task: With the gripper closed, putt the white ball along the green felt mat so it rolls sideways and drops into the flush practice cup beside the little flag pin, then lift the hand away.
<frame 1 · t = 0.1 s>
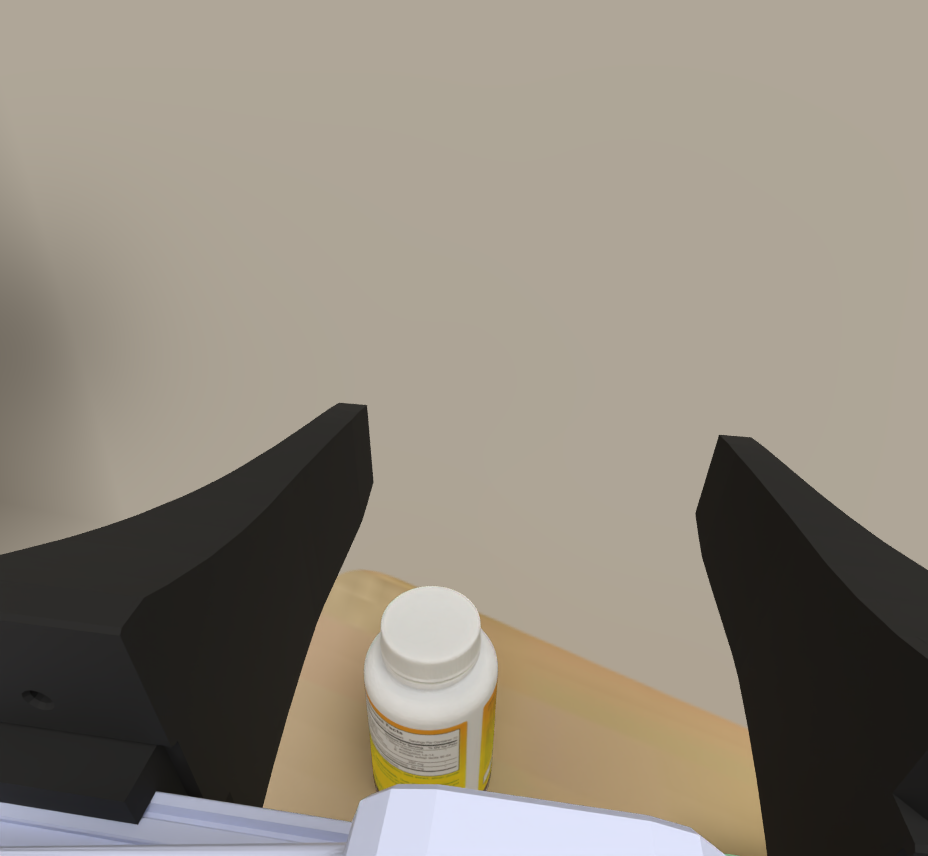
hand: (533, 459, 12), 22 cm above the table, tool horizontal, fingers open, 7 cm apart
supplement bottle: (432, 776, 28), on the table
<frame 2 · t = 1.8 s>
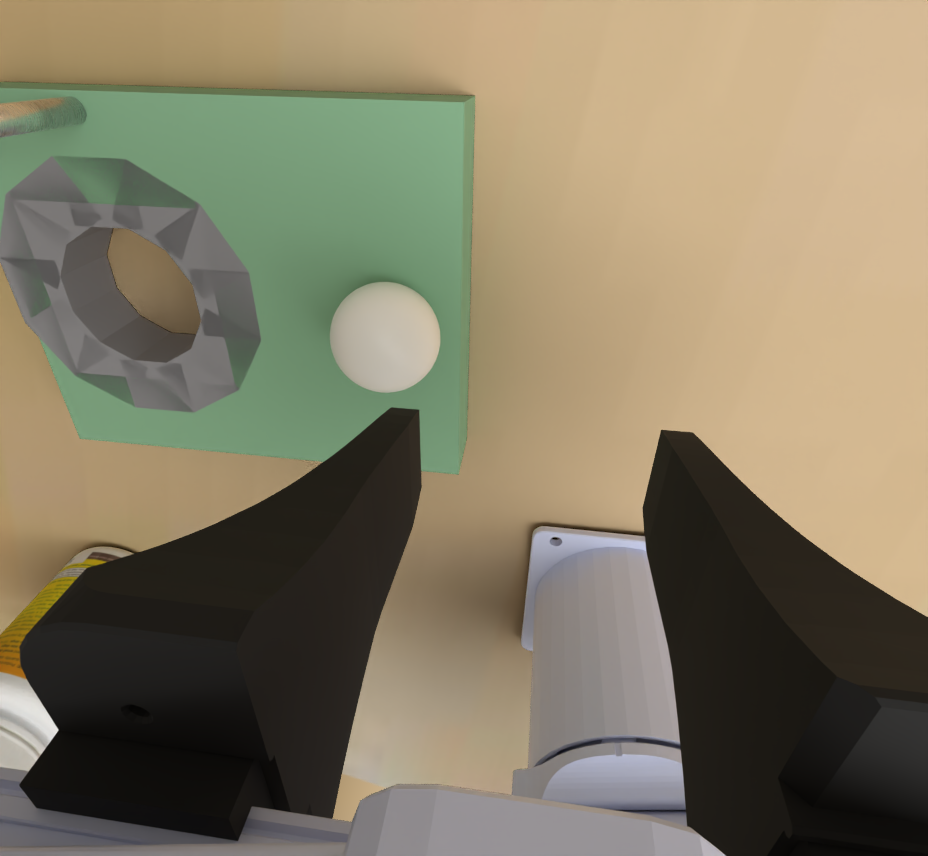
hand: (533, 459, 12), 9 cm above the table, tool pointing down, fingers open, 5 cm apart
flag pin: (74, 110, 17), resting on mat
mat: (262, 281, 21), on the table
supplement bottle: (130, 576, 32), on the table
ball: (385, 337, 17), point 4 cm above the table, touching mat
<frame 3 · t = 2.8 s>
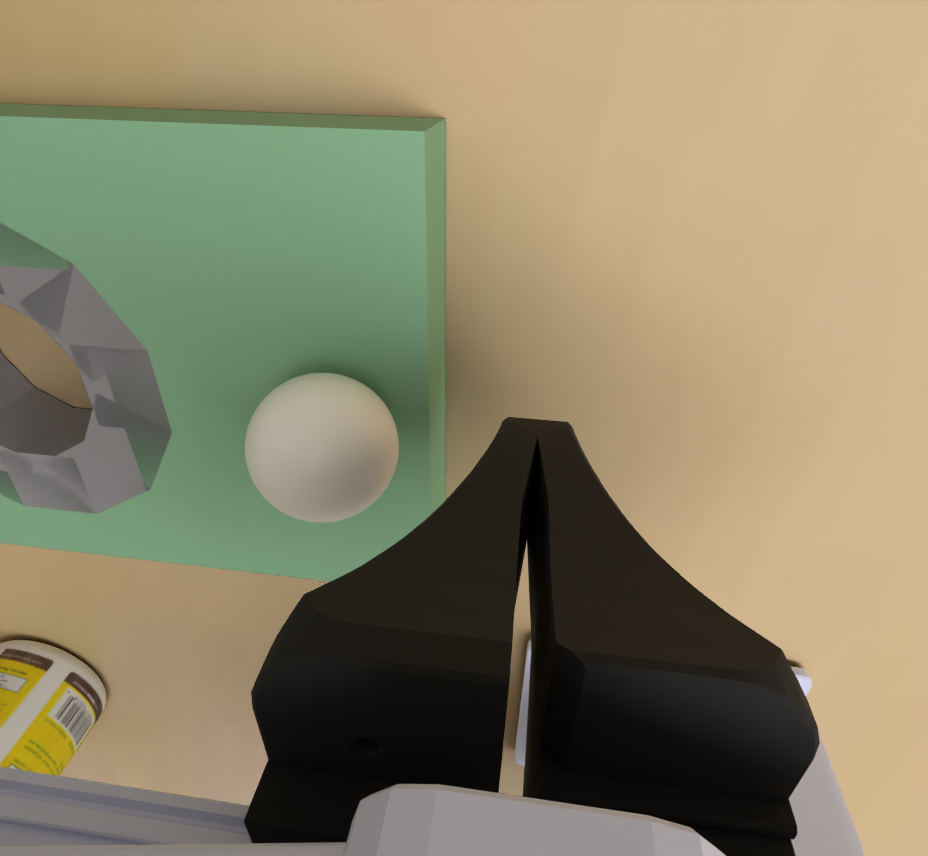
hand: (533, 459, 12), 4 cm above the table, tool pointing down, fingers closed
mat: (181, 349, 17), on the table
supplement bottle: (57, 669, 27), on the table
ball: (324, 447, 13), point 4 cm above the table, touching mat
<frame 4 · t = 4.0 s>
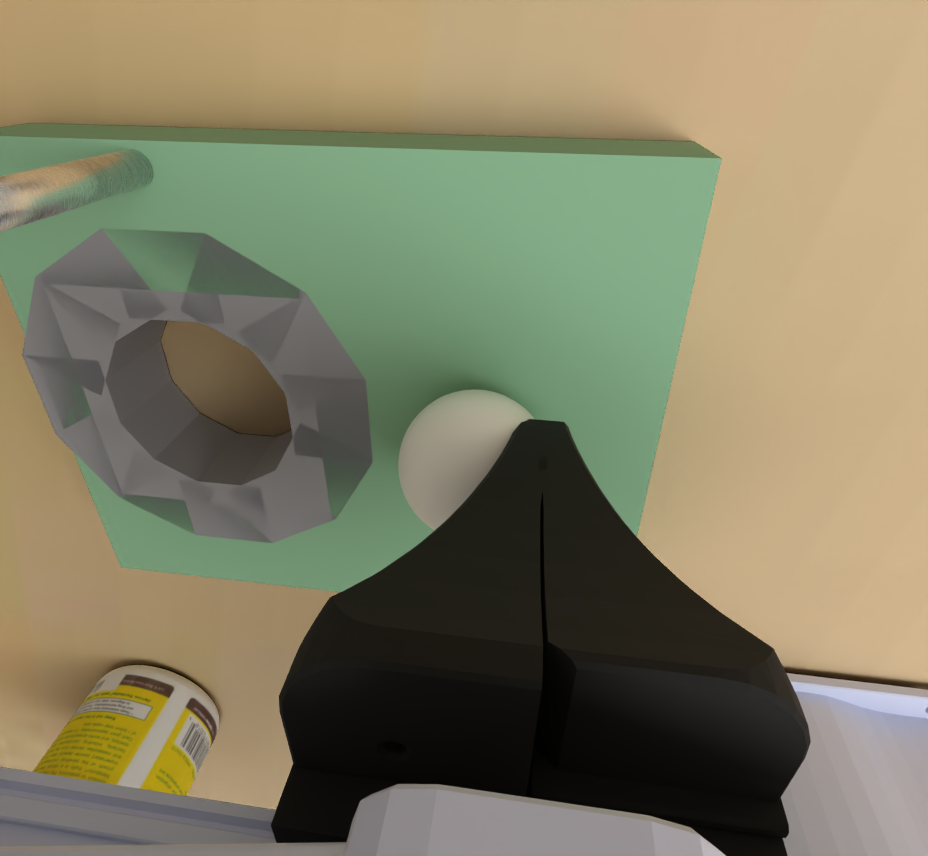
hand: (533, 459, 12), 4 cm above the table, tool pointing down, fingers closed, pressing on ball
flag pin: (136, 168, 12), resting on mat
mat: (364, 375, 16), on the table
supplement bottle: (167, 694, 27), on the table
ball: (474, 465, 13), point 4 cm above the table, tilted 73°, touching gripper, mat
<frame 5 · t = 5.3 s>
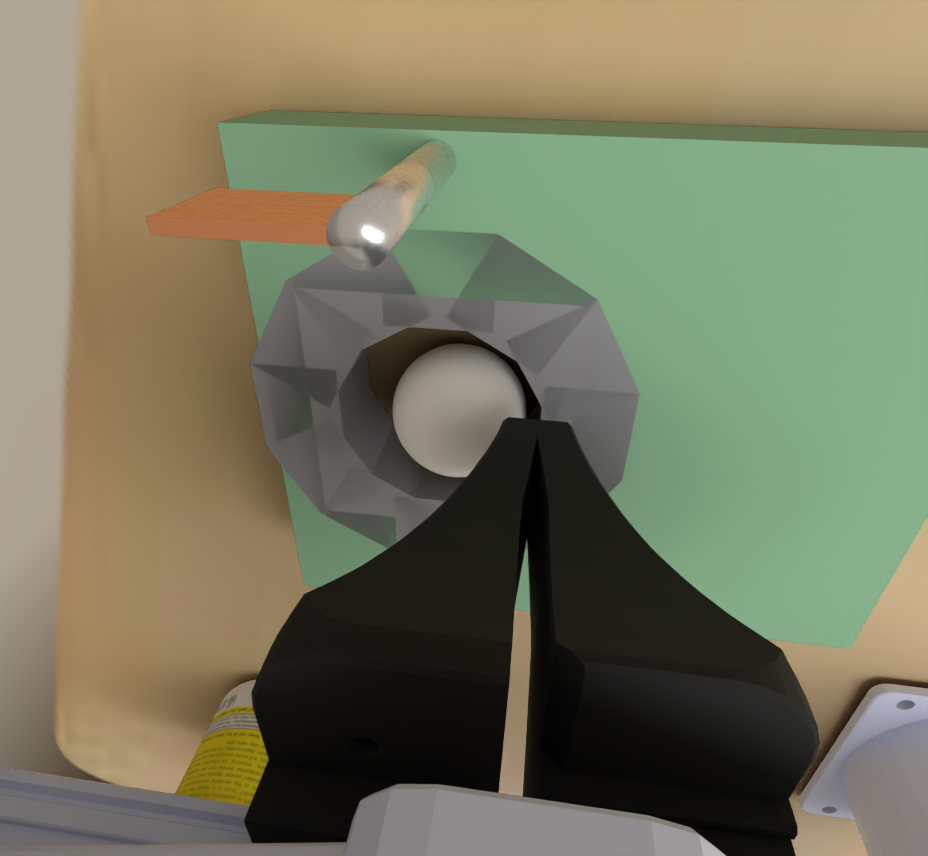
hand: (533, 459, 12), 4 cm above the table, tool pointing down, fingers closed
flag pin: (436, 161, 11), resting on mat
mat: (589, 384, 15), on the table
supplement bottle: (291, 707, 26), on the table
ball: (459, 410, 14), point 2 cm above the table, tilted 84°
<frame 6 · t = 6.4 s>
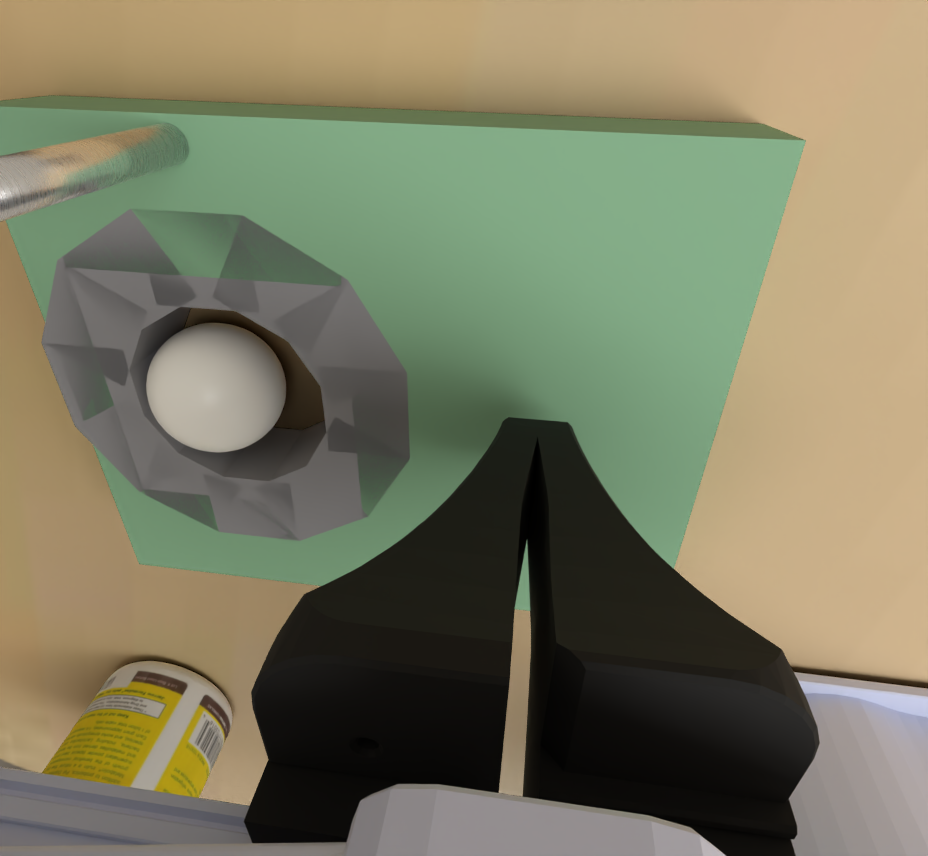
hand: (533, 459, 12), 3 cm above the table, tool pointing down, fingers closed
flag pin: (170, 144, 11), resting on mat
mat: (397, 367, 16), on the table
supplement bottle: (179, 690, 26), on the table
ball: (219, 388, 15), point 2 cm above the table, tilted 47°
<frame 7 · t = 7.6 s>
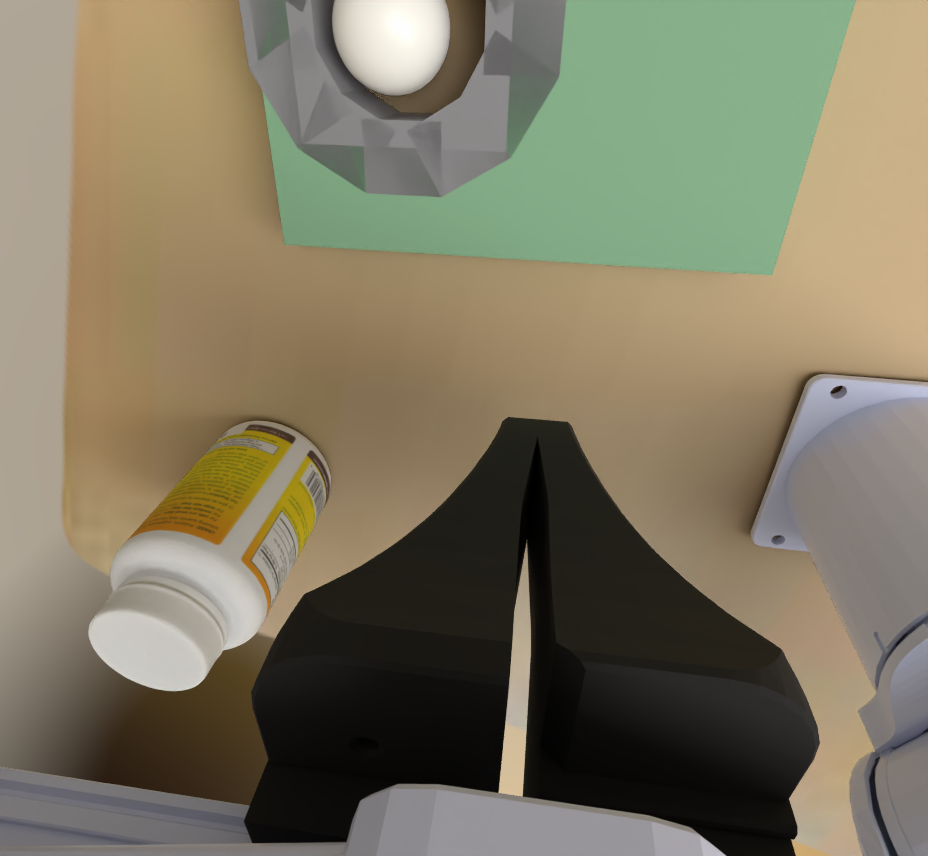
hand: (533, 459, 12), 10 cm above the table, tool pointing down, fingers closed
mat: (536, 26, 17), on the table
supplement bottle: (279, 464, 28), on the table
ball: (391, 28, 16), point 2 cm above the table, tilted 58°
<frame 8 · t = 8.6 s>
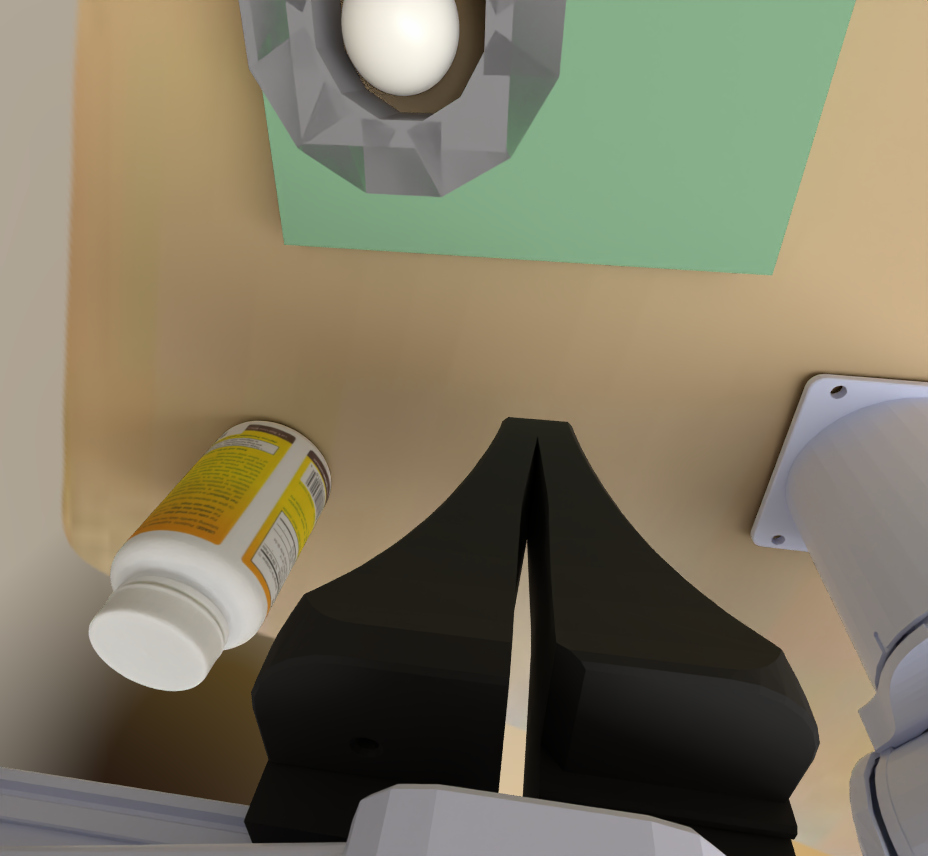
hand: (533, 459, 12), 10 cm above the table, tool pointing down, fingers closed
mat: (536, 26, 17), on the table
supplement bottle: (279, 464, 28), on the table
ball: (401, 28, 16), point 2 cm above the table, tilted 67°
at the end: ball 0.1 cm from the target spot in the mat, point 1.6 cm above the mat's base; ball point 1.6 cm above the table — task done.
